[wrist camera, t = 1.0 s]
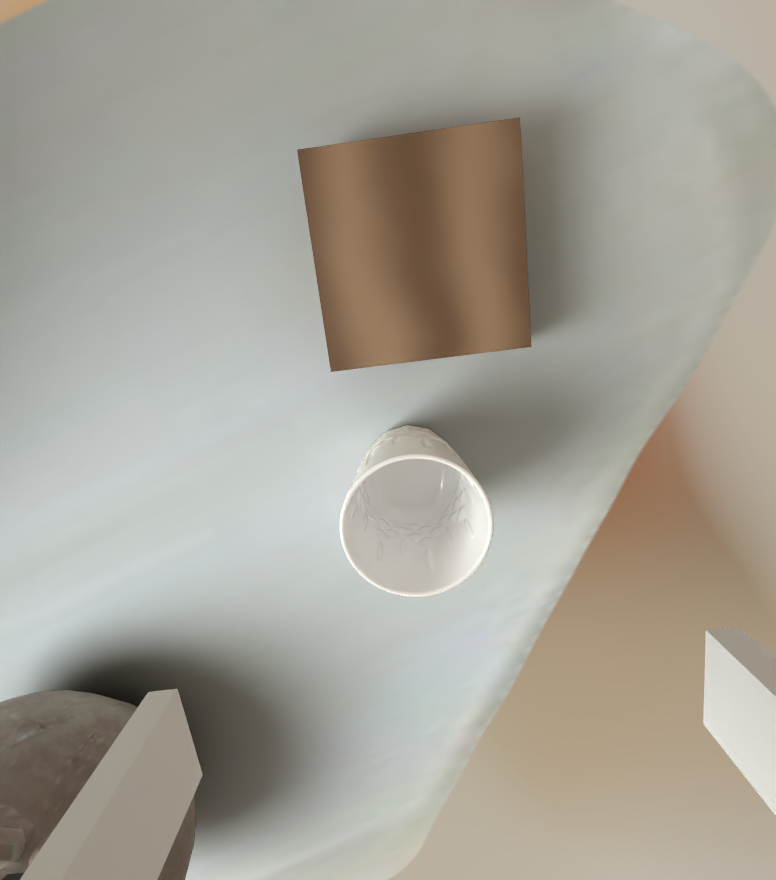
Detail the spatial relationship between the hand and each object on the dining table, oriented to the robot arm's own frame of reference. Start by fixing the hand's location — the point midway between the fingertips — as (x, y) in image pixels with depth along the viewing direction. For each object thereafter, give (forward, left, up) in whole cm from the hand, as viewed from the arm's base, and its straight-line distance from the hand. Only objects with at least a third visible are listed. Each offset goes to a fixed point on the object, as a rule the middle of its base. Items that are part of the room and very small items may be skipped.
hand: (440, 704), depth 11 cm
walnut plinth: (+2, +13, -22) cm, 26 cm away
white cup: (0, -1, -22) cm, 22 cm away
